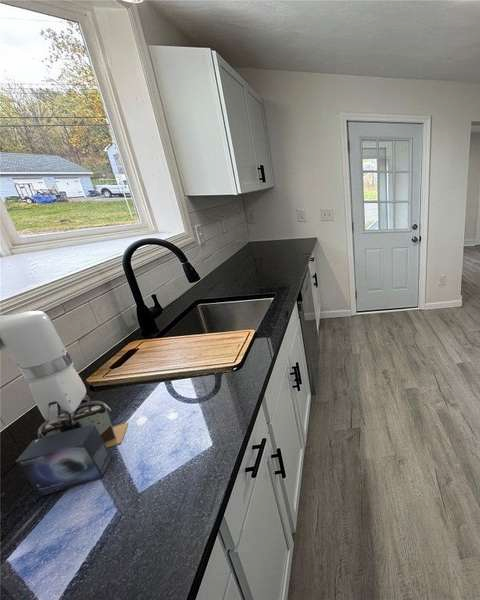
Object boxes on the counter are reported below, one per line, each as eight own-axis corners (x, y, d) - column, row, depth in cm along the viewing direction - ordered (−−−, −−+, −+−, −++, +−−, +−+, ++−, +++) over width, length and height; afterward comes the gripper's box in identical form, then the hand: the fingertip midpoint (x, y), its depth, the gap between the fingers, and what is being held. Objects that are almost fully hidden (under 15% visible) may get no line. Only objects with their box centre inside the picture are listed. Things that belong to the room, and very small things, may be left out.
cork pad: (50, 467, 72) (49, 466, 72) (63, 444, 79) (63, 443, 78) (121, 443, 78) (120, 442, 78) (128, 423, 84) (127, 422, 84)
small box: (38, 499, 65) (12, 462, 61) (56, 474, 70) (32, 439, 66) (102, 479, 68) (81, 442, 64) (114, 456, 74) (95, 422, 70)
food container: (122, 423, 84) (107, 392, 80) (123, 435, 80) (107, 404, 76) (58, 450, 76) (38, 418, 73) (55, 465, 72) (34, 432, 68)
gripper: (42, 353, 75) (75, 411, 82) (1, 393, 61) (45, 459, 67) (83, 344, 78) (111, 401, 85) (53, 379, 64) (91, 444, 71)
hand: (82, 426), depth 76 cm, fingers open, 7 cm apart
